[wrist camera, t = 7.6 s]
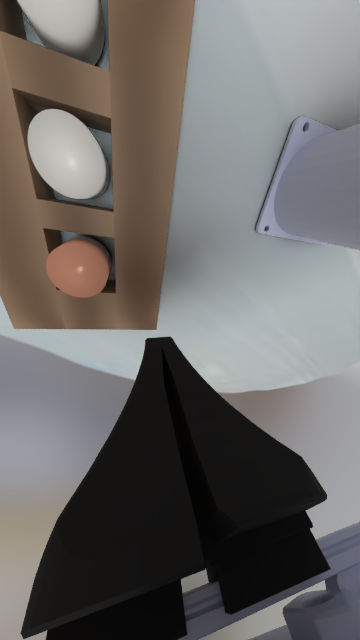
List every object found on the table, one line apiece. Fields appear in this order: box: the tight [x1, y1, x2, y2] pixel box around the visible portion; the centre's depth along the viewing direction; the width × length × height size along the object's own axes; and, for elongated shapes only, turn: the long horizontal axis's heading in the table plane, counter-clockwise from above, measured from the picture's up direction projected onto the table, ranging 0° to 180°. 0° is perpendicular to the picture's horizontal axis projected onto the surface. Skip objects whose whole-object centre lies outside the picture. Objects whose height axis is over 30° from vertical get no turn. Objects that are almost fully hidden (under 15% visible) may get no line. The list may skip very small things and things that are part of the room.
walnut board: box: [0, 0, 195, 330], centre depth 11 cm, size 12×24×3 cm, turn 169°
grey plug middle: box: [28, 109, 110, 199], centre depth 11 cm, size 4×4×3 cm
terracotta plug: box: [46, 236, 111, 298], centre depth 13 cm, size 4×4×3 cm
